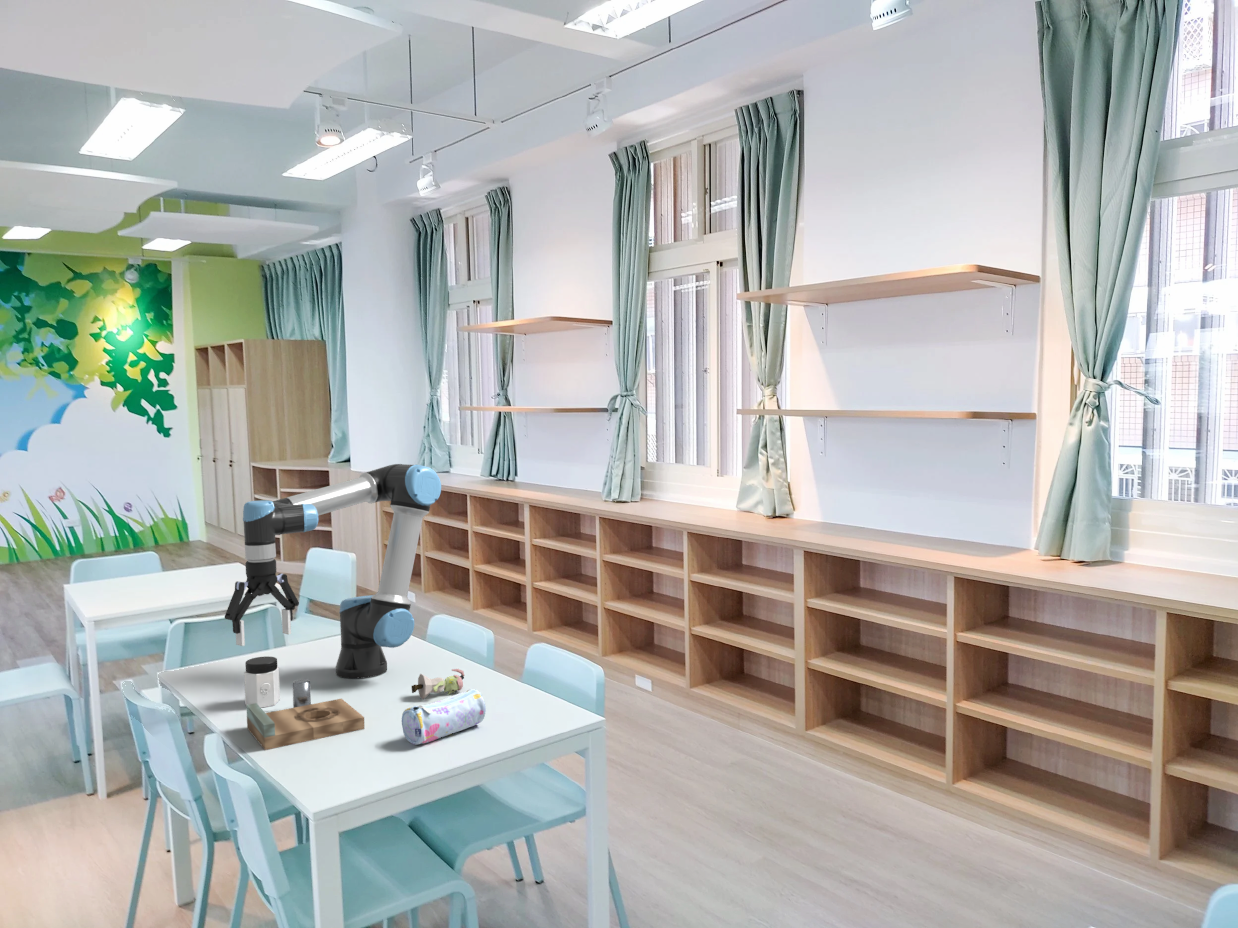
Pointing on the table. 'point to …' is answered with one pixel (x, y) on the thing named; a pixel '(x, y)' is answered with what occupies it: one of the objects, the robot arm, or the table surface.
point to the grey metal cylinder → (301, 693)
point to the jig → (302, 723)
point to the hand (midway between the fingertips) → (264, 639)
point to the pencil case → (443, 717)
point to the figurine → (438, 684)
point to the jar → (262, 681)
